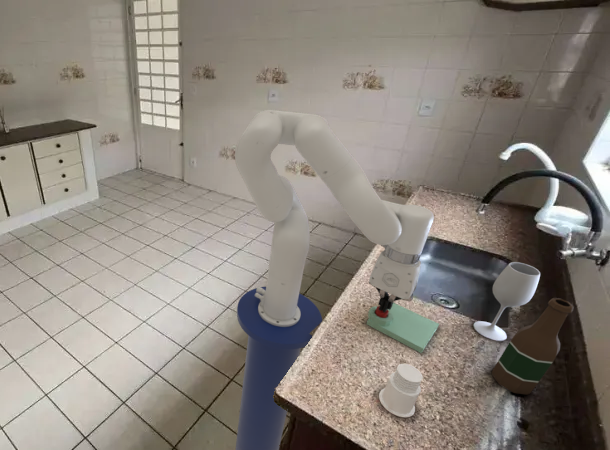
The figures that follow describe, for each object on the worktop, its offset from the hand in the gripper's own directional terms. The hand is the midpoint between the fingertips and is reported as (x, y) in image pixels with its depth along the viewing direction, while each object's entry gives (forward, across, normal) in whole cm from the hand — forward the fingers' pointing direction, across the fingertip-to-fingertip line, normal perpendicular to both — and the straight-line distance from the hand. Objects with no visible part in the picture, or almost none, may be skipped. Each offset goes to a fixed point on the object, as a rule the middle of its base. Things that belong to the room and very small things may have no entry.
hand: (383, 308), depth 97 cm
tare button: (+2, 0, 0) cm, 2 cm away
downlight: (+6, +13, -23) cm, 27 cm away
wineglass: (+6, +22, +19) cm, 30 cm away
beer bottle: (+6, +29, +3) cm, 29 cm away
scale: (+5, +5, +3) cm, 8 cm away
